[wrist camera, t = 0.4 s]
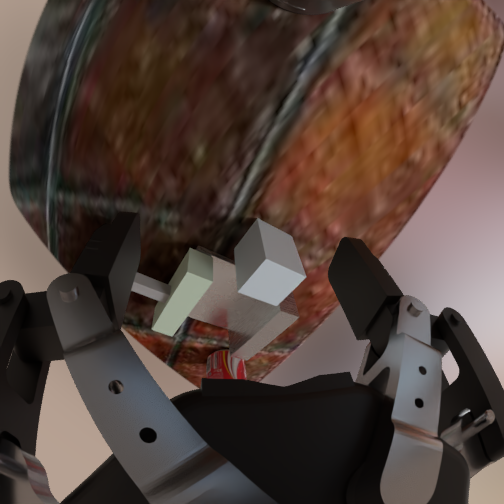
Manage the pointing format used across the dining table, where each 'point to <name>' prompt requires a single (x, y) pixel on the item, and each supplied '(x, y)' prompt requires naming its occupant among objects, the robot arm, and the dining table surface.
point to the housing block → (267, 264)
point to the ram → (177, 291)
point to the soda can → (225, 366)
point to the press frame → (241, 311)
